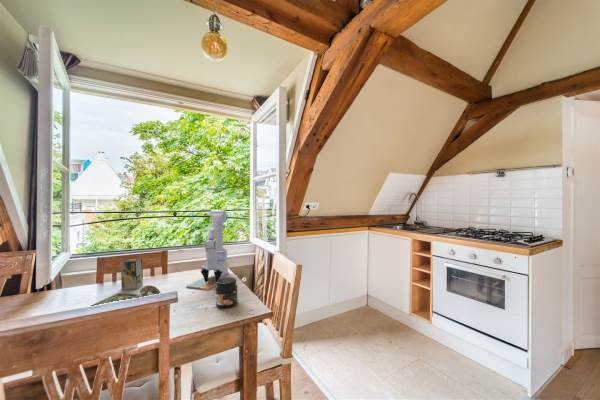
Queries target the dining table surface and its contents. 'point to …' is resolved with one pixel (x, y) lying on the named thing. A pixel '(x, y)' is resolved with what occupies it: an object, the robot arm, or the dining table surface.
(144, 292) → the olive sloped mound
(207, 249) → the robot arm
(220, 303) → the supplement container
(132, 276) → the coffee box
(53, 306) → the dining table surface
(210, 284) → the stub
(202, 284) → the board
